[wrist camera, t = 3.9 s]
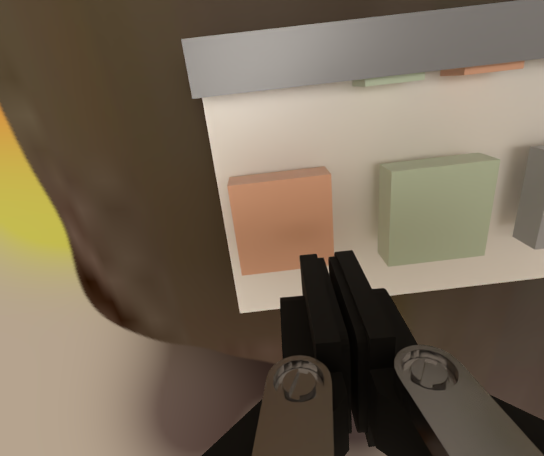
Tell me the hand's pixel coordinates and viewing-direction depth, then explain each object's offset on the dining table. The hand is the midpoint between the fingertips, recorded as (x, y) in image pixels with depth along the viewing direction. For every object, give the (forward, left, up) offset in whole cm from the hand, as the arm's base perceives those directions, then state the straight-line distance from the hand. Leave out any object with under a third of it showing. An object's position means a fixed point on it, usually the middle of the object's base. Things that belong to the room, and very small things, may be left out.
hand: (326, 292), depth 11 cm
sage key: (-6, 0, -6) cm, 9 cm away
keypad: (-6, 0, -10) cm, 12 cm away
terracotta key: (+1, 0, -7) cm, 7 cm away
